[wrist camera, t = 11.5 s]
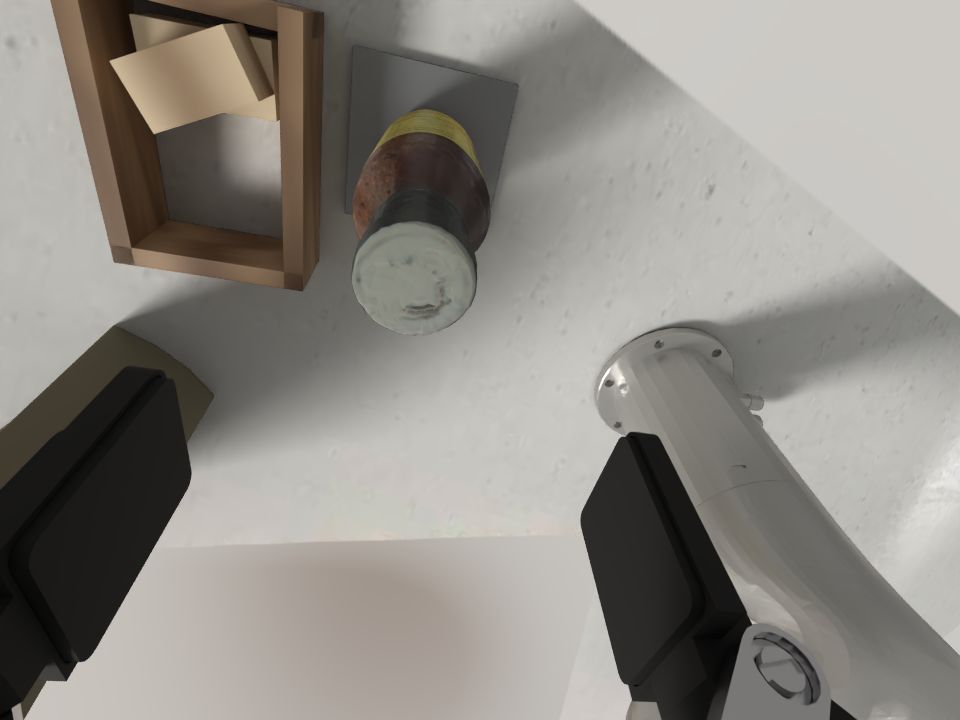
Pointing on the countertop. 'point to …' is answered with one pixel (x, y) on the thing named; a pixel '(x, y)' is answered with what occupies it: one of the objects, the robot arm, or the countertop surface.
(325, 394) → the countertop surface
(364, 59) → the mat
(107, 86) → the tray
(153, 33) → the offcut low
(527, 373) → the countertop surface
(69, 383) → the book
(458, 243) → the sauce bottle
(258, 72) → the offcut top
